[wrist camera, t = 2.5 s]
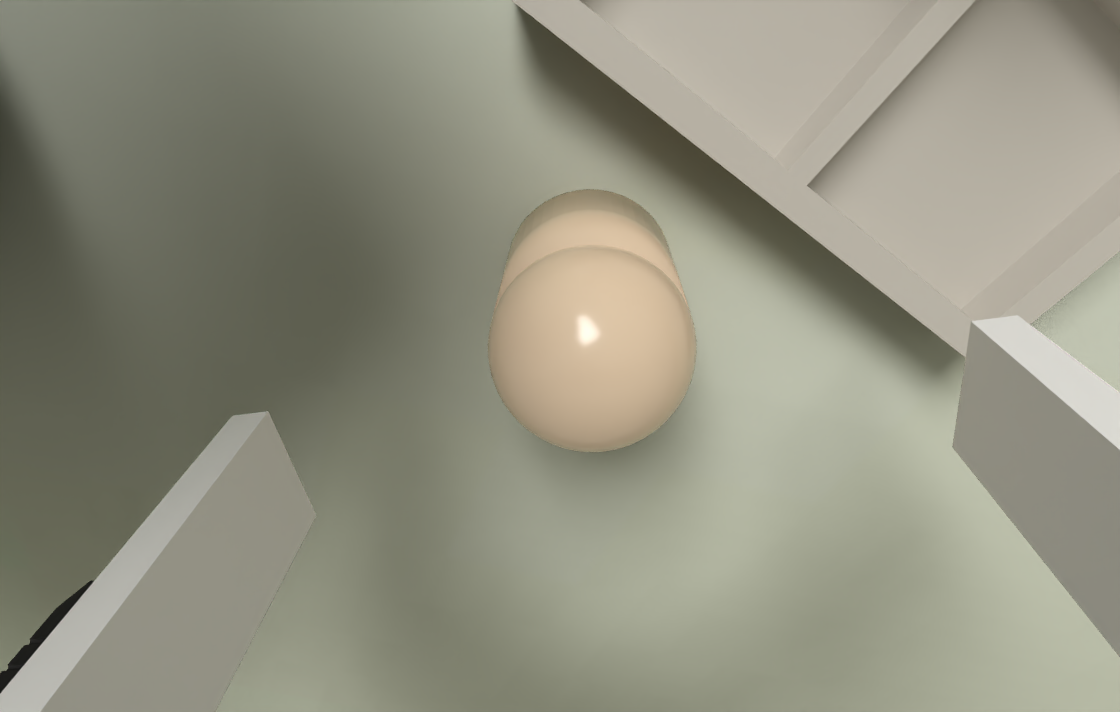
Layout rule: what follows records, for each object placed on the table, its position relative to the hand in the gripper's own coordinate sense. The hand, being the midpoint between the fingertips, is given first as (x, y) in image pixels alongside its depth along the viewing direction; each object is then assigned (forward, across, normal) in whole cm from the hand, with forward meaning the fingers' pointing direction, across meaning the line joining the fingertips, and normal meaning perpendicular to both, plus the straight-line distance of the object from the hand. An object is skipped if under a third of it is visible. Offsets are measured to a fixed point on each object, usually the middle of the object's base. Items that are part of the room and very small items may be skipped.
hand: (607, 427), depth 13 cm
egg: (+7, 0, 0) cm, 7 cm away
